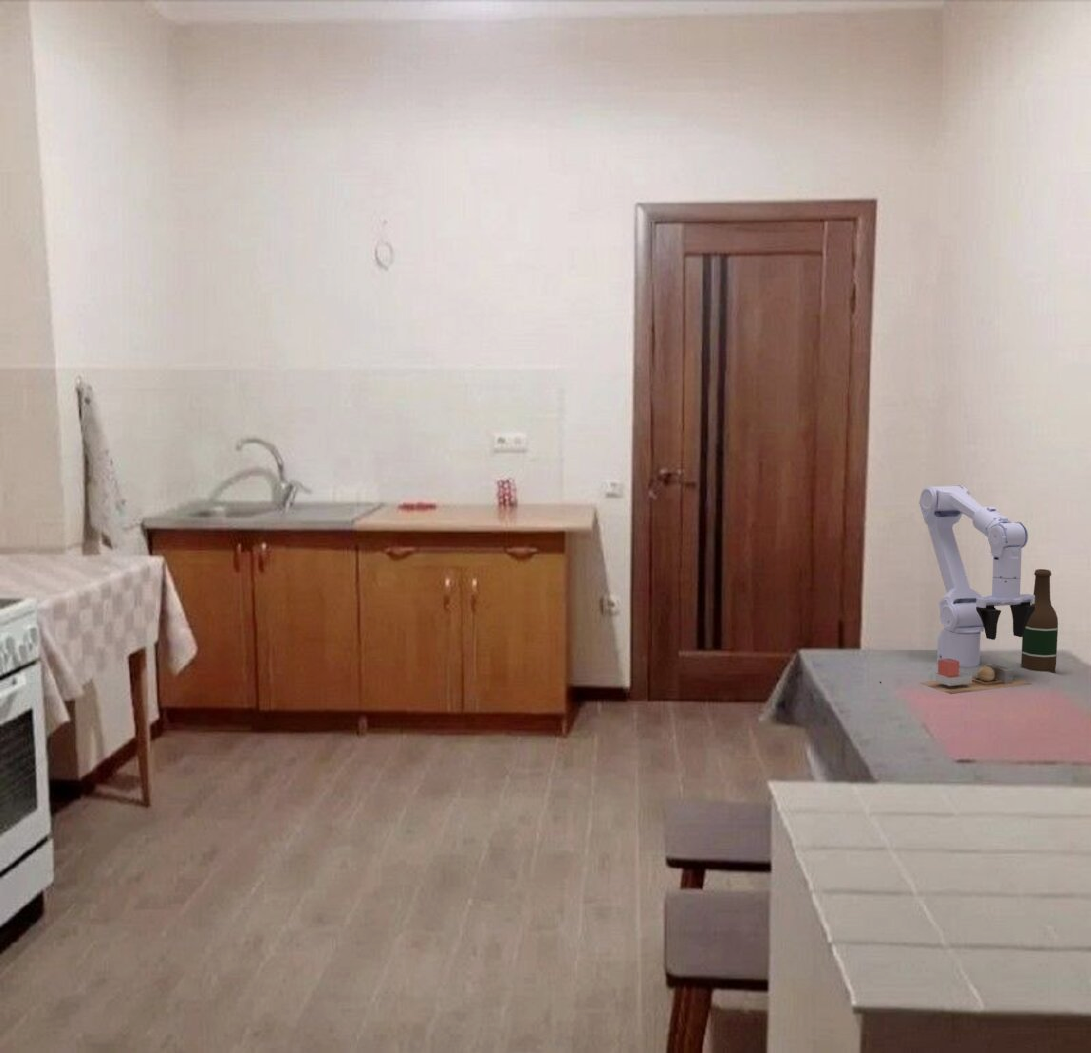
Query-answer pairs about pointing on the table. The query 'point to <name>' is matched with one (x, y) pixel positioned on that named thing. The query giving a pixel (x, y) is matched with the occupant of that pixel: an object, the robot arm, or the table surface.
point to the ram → (951, 673)
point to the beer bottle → (1041, 629)
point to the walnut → (986, 674)
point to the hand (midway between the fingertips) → (1004, 637)
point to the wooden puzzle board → (981, 682)
